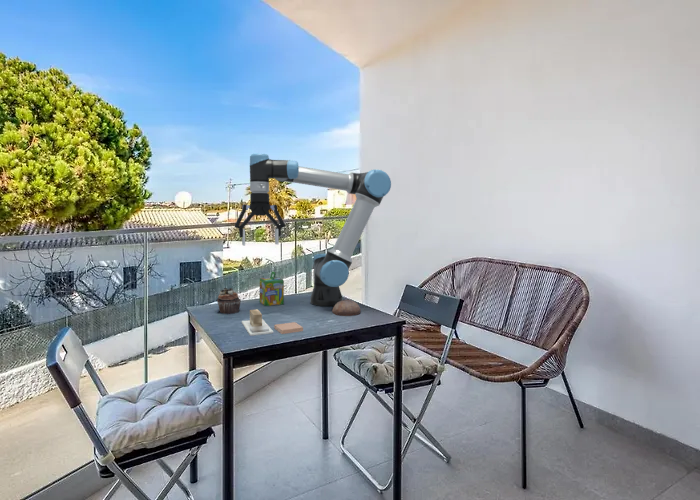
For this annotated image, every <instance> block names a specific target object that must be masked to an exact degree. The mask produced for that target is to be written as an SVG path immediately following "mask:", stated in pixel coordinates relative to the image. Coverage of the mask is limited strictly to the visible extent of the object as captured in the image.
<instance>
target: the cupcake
mask: <svg viewBox="0 0 700 500" xmlns="http://www.w3.org/2000/svg"><path fill="white" fill-rule="evenodd" d="M241 301H242V299H240V297H239V294H238V293H237V292H236V291H235V290H234V288H232V287H230V288H227V287H224V288H223V289H221V290H219V295H218V296H217V299H216V302H217V304H218V310H219V313H220V314H223V315H231V314H237V313H239V312H240V309H241V308H240V307H241Z"/></svg>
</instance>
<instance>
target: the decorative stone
mask: <svg viewBox="0 0 700 500" xmlns="http://www.w3.org/2000/svg"><path fill="white" fill-rule="evenodd" d="M331 311H332V312H331V313H333V314H334V315H335V316H341V317H351V316H357V315H360V314H361V311H362V310H361V307H360V305H359V304H358V303H357V302H356V301H353V300H351V299H343V300H341V301H339V302H337V303H336V304H335V305H333V308H332V309H331Z"/></svg>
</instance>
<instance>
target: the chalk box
mask: <svg viewBox="0 0 700 500" xmlns="http://www.w3.org/2000/svg"><path fill="white" fill-rule="evenodd" d="M284 289H285V280H284V279H283V278H280V277H278V276H276V271H271V274H270V277H259V304H262V305H263V306H264V307H269V306H279V305H280V306H281V305H284V304H285V297H284V295H285V293H284V292H285V290H284Z"/></svg>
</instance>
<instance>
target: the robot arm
mask: <svg viewBox="0 0 700 500" xmlns="http://www.w3.org/2000/svg"><path fill="white" fill-rule="evenodd" d="M270 179H275V180H276V181H278V182H287V183H288V182H289V183H294V184H301V185H308V186H315V187H318V188H319V187H320V188H326V189H332V190H339V191H346V193H347V194H350V195H355V197H356V199H355V202H354V203H353V206H352V208H351V210H350V212H349V214H348V216H347V219H346V220H345V222H344V225H343V226H342V228H341V231H340V233H339V235H338V238H337V239H336V241H335V243H334V246H333V248H331V249H328V250H327V251H326V253H317V254H314V256H313V282H314V283H313V288H312V292H311V294H310V299H309V301H310V304H311V305H313V306H319V307H320V306H321V307H331V306H333V307H334V306H335V304H336V303H337V302H339V301H341V300H344V297H343V295H342V291H341V288H340V287H341V286H343V285H344V284H345V283H346V281H348V279H349V274H350V273H349V271H350V267H351V265H352V263H353V260H352V256H353V253H354V251H355V249H356V247H357V245H358V242H359V240H360V239H361V236H362V235H363V232H364V230H365V228H366V226H367V224H368V222H369V219H370V218H371V215H372V213H373V210H375V208H377V207H380V205H381V202H382V201H383V199H384V197H386V196H387V194H388V193H389V192H390V190H391V188H392V180H391V178H390V176H389V174H388V173H387V172H385V171H384V170H382V169H371V170H369V171H366V172H350V173H349V174H348V173H344V172H343V173H342V172H338V171H337V172H335V171H330V170H324V169H317V168H311V167H305V166H299V162H298V161H297V160H293V159H292V160H291V159H270V157H269V154H266V153H252V154H250V156H249V181H250V182H249V192H251V193H250V194H249V195H250V196H249V197H250V200H249V201H250V204H243V205H242V207H241V211H240V212H239V213H240V214H239V215H238V218H237V219H236V221H235V224H234V228H237V229H238V230H239V231H238V233H239V236H238V237H240V238H241V245H242V246H246V229H244V228H245V227H246V225H247V224H248V223H249V222H250V221H251V220H252V218H253V217H254V216H255V217H256V216H258V217H259V216H261V217H263V216H266V217H267V218H268V219H269V221H271V223H272V224H273V225H274V226H275V228H274V244H275V245H277V246H278V245H279V237H281V235H282V231H281V229H282V228H285V227H286V224H285V222H284V220H283V218H282V216H281V214H280V213H279V211H278V204H273V205H271V204H270V194H269V192H270ZM248 209H250V210H249V211H251V212H250V213H248V216H247V217H246V218H245V219H244V221H243V222H242V220H243V218H244V216H245V214H246V211H248ZM270 209H271V211H273V213H274V215H275V217H276V219H277V220H276V219H275V218H274V217H273V216H272V215H271V214H272V213H270ZM241 222H242V223H241ZM240 223H241V224H240Z"/></svg>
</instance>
